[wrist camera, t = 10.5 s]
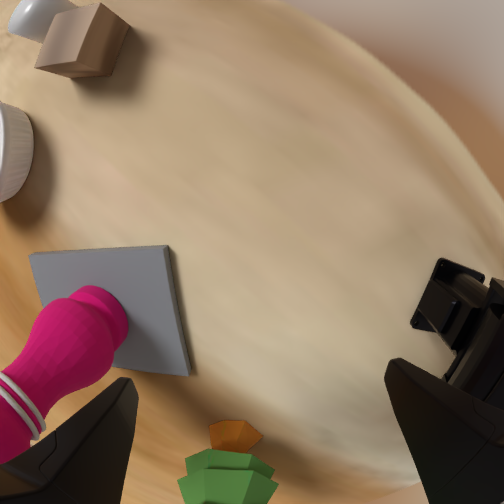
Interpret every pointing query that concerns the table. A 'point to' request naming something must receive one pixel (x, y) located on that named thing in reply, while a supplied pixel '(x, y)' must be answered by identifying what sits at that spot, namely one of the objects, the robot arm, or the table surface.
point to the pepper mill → (58, 362)
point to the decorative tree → (228, 469)
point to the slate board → (124, 299)
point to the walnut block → (83, 42)
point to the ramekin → (14, 149)
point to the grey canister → (36, 17)
